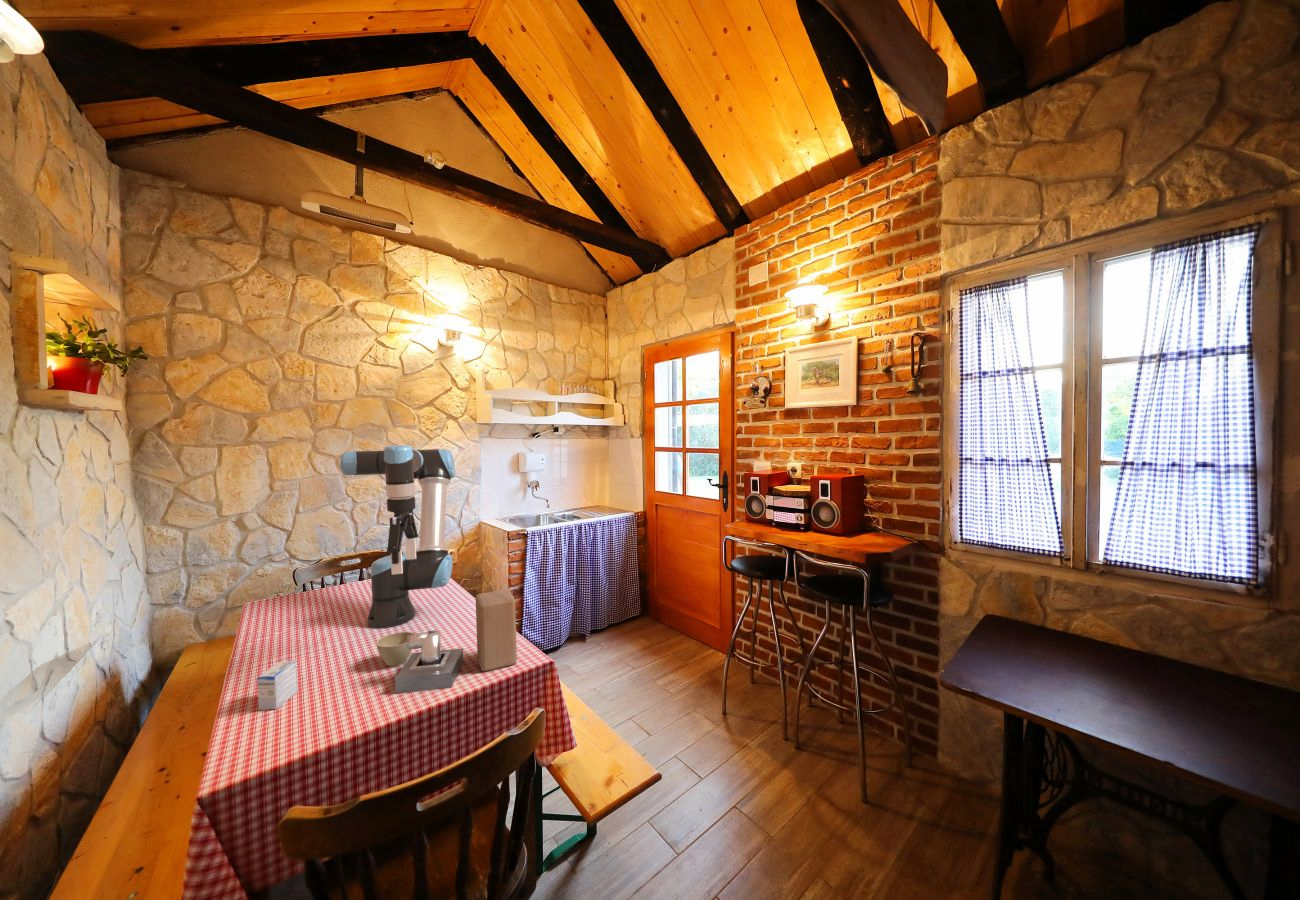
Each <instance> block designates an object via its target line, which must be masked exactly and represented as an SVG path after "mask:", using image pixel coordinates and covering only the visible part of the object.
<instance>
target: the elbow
mask: <svg viewBox="0 0 1300 900" xmlns="http://www.w3.org/2000/svg"><path fill="white" fill-rule="evenodd" d="M441 640H442V639H441V631H439V630H428V631H425V632H419V633H417V632H415V633H414V634H409V635H408V636H407V641H406V647H407V649H412V650H414V649H415V650H416V649H418V650H419V649H420V652H421V661H422V666H426V665H436V664H440V663H441V650H442V647H441V646H442V645H441V643H442V642H441Z"/></svg>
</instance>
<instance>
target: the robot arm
mask: <svg viewBox="0 0 1300 900" xmlns="http://www.w3.org/2000/svg"><path fill="white" fill-rule="evenodd" d="M339 465H340V467H339V468H340V470H341V473H342V474H343V475H345V476H354V477H355V476H371V475H372V476H374V475H375V476H377V475H378V476H379V475H380V476H382V475H383V476H384V475H385V486H384V490H385V492H386V497H387V499H386V509H387V510H386V511H387V512H389V513H393V517H389V531H388V539H387V550H386V553H387V554H390V555H385V556H384V557H380V558H377V560H375V561H373V562H372V563H371V566H370V580H371V599H372V600H371V601H372V602H371V606H370V608H369V612H368V614H367V621H366V622H367V626H368V627H370V628H373V629H385V628H391V627H395V626H400V625H403V624H405V623H408V622H410V621H411V620H413V619H414V618H415V616H416V613H415V612H416V610H415V607H414V605H413V603H412V599H411V597H410V594H409V591H415V590H426V589H436V588H443V587H445V586H447V584H448V583H449V582H450V579H451V577H452V571H453V555H452V554H449V549H448V548H447V547H445V535H446V534H445V531H446V530H445V529H446V509H447V508H446V503H447V500H446V499H447V487H448V485H449V484H451V481H452V480H451V479H453V478H455V477H456V466H455V459H454V456H453V453H452V452H451V450H450V449H447V448H446V449H444V448H437V449H414V448H413V447H412V446H411V445H406V444H405V445H404V444H403V445H388V446H386V447H384V450H353V451H352V450H350V451H345V452H343V453H342V454H341V456H340V460H339ZM415 480H418V483H419V484H420V485H421V486H422V489H421V506H420V507H421V509H420V527H419V534H418V529H417V525H416V521H415V517H414V509H416V497H415V495H416V491H415V490H416V488H415ZM404 535H405V537H406V539H405V553H402V550H401V547H402V543H403V538H404V537H403V536H404ZM417 538H419V547H418V548H417V546H416V545H417V544H416V539H417ZM416 548H417V549H416Z"/></svg>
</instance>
